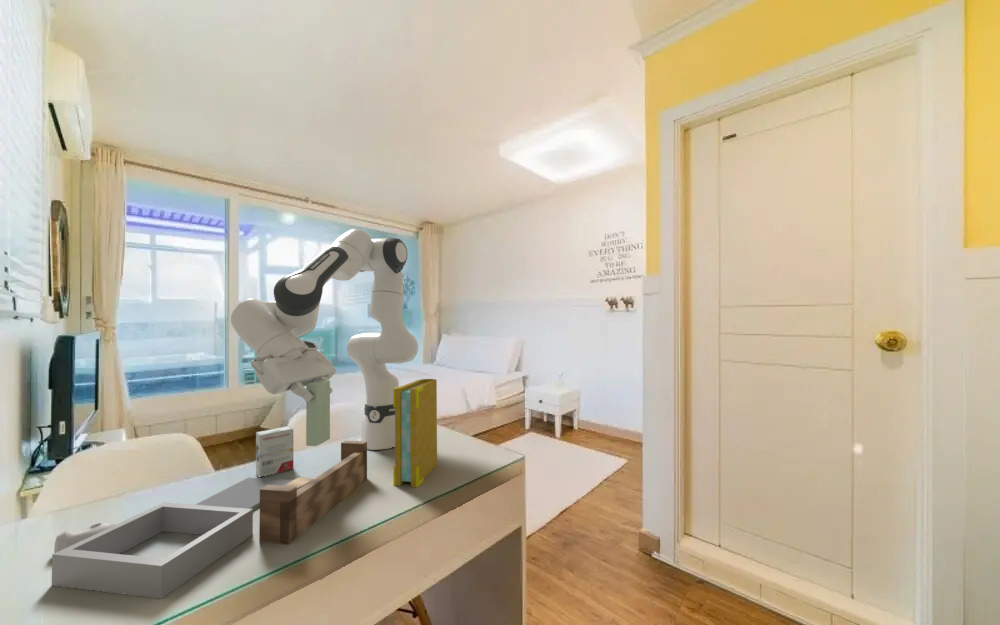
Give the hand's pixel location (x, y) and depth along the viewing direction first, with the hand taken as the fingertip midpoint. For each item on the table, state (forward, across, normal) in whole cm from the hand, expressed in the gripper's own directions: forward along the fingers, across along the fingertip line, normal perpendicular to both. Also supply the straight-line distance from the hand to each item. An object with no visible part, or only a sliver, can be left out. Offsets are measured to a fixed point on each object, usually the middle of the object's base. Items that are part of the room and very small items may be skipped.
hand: (320, 396), depth 84 cm
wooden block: (+12, +1, +24) cm, 27 cm away
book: (+30, +20, +6) cm, 36 cm away
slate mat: (+3, 0, +32) cm, 33 cm away
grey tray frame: (+6, -21, +30) cm, 37 cm away
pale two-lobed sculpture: (-7, -20, +43) cm, 48 cm away
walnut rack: (+18, 0, +17) cm, 25 cm away
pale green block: (+7, 0, +8) cm, 11 cm away
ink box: (0, +16, +36) cm, 39 cm away
